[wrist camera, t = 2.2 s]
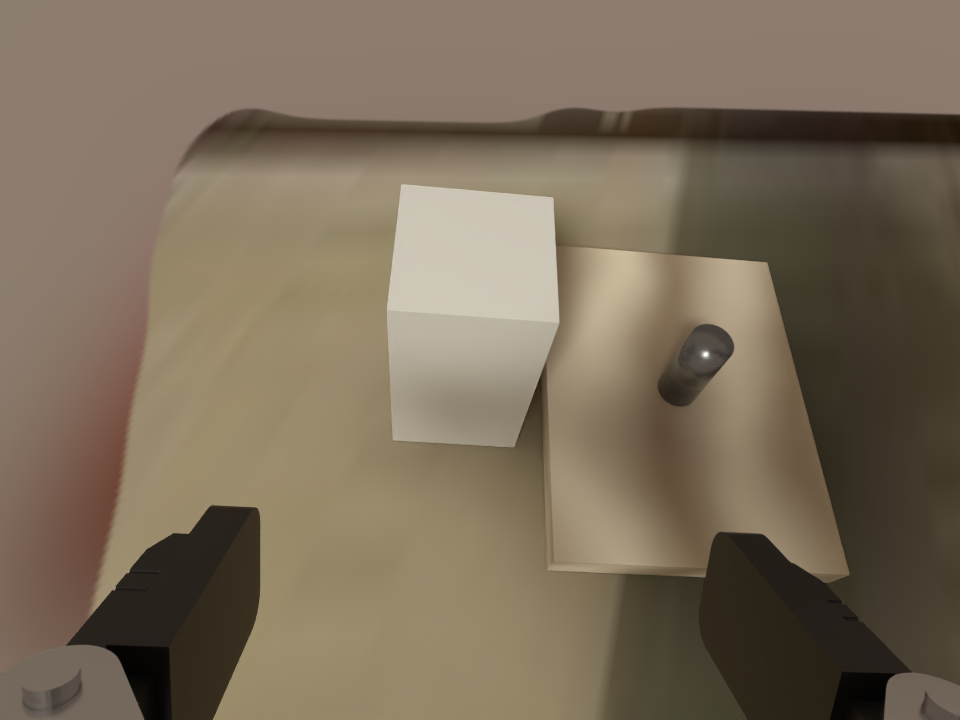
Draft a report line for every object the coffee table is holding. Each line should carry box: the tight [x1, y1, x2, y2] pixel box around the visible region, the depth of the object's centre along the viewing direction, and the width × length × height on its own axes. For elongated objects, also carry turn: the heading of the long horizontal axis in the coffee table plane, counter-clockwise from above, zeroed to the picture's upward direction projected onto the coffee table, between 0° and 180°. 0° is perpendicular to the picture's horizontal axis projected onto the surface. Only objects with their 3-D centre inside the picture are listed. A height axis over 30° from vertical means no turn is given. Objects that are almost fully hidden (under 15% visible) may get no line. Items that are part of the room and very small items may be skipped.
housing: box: [387, 184, 560, 447], centre depth 26 cm, size 5×5×10 cm
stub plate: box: [541, 245, 850, 583], centre depth 28 cm, size 12×16×6 cm
